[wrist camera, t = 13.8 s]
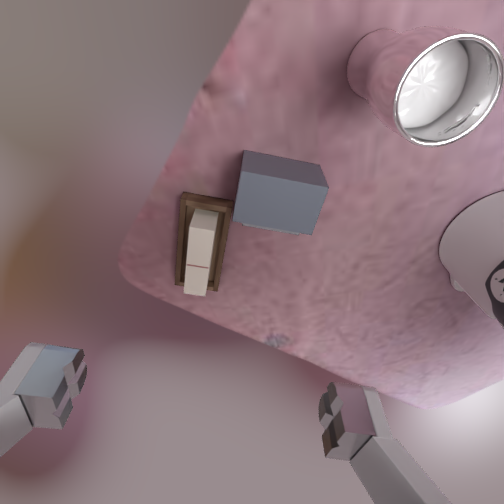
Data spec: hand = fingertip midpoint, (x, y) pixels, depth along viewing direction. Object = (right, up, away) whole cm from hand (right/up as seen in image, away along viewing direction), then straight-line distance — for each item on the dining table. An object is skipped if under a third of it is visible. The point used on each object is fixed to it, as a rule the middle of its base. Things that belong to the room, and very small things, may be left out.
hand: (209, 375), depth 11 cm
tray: (-6, +6, +35) cm, 36 cm away
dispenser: (+4, +13, +29) cm, 32 cm away
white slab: (-5, +5, +34) cm, 35 cm away
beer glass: (+14, +23, +22) cm, 34 cm away
